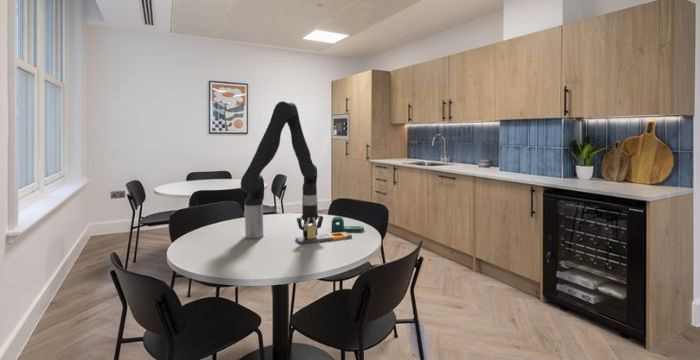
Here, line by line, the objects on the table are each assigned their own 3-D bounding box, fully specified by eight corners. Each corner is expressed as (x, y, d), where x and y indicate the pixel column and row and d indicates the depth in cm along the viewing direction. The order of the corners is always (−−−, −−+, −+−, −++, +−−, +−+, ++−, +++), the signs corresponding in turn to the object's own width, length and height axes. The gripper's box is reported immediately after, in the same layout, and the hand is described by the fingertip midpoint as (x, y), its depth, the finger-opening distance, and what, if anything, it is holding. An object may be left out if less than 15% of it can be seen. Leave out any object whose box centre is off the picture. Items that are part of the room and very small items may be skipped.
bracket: (331, 232, 217) (331, 218, 216) (331, 229, 223) (331, 216, 222) (364, 232, 217) (364, 218, 216) (363, 229, 224) (363, 216, 223)
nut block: (304, 240, 200) (304, 224, 199) (312, 239, 202) (312, 224, 201) (307, 242, 196) (307, 226, 195) (316, 241, 198) (315, 225, 197)
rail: (295, 240, 200) (295, 237, 199) (345, 234, 212) (345, 231, 212) (300, 244, 192) (300, 241, 192) (351, 238, 205) (351, 235, 204)
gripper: (320, 201, 203) (320, 233, 205) (293, 203, 197) (294, 236, 199) (325, 203, 196) (326, 237, 198) (298, 205, 190) (299, 240, 192)
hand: (310, 236), depth 199 cm, fingers closed on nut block, 4 cm apart
